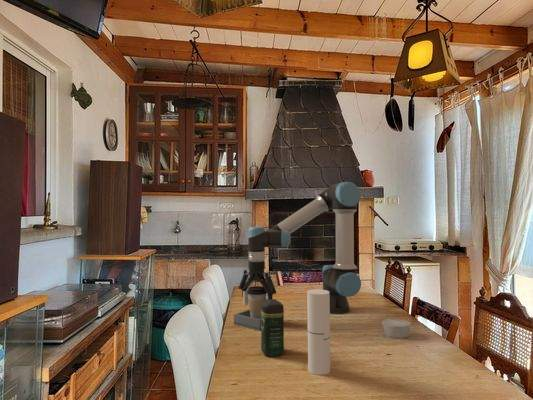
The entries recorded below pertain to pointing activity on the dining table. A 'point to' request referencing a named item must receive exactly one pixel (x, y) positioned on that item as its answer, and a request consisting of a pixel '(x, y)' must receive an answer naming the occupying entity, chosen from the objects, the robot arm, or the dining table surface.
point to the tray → (247, 320)
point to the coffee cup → (256, 300)
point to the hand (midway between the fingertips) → (257, 307)
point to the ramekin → (396, 328)
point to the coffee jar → (272, 327)
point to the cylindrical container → (318, 331)
